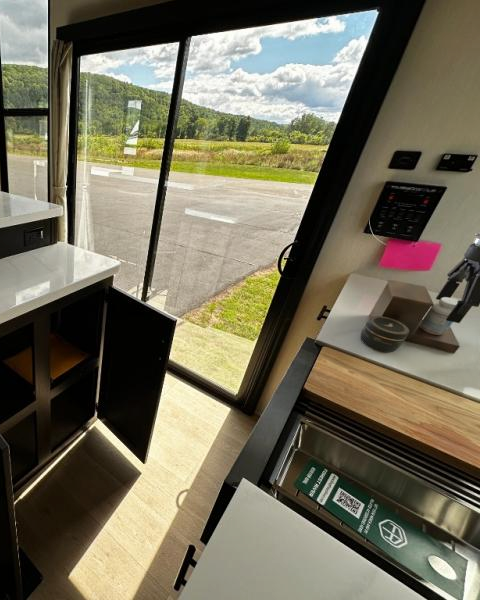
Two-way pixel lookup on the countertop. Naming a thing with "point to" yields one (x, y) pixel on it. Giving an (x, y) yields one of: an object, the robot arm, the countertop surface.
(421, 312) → the step shelf
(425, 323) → the pill bottle
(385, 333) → the jar
